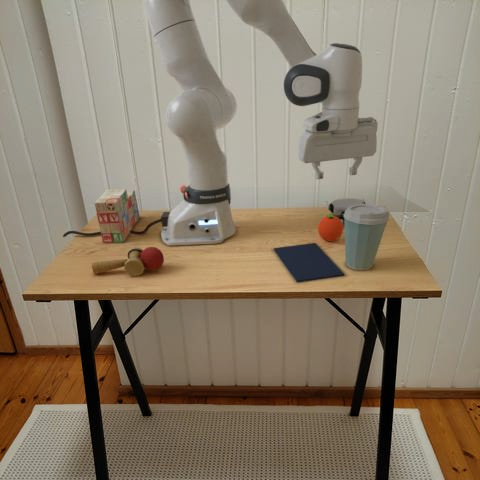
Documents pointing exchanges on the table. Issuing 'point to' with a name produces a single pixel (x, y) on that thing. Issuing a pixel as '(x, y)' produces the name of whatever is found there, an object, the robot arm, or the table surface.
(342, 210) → the robot toy
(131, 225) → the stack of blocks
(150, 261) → the kendama
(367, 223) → the disposable coffee cup
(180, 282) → the table surface
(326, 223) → the clementine
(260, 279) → the table surface
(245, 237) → the table surface
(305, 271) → the cloth
